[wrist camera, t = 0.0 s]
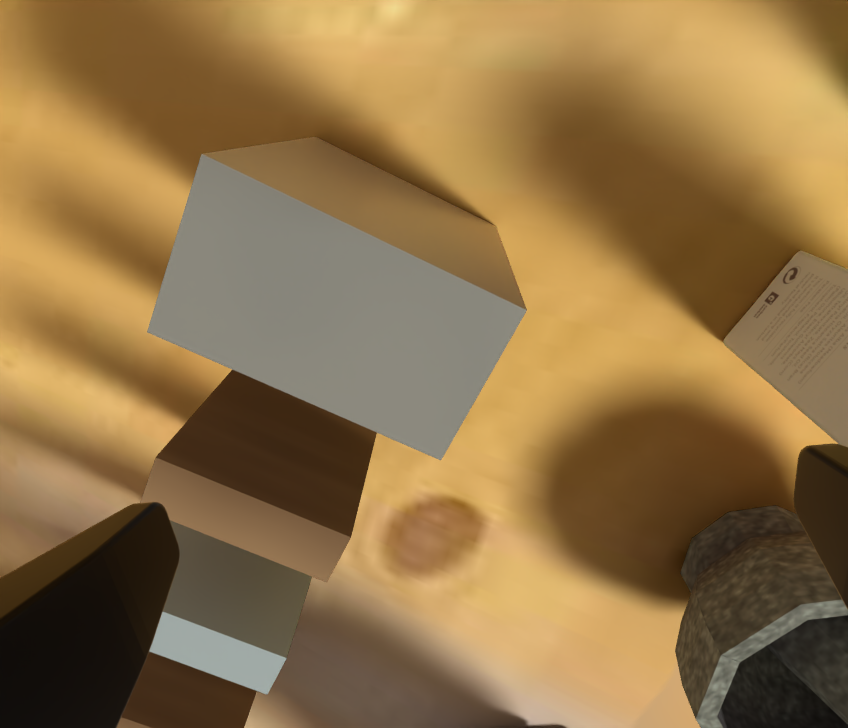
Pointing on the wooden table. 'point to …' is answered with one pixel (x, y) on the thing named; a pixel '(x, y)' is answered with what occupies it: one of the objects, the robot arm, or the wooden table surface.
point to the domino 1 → (266, 475)
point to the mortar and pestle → (762, 627)
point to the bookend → (340, 288)
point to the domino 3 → (184, 698)
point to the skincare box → (802, 340)
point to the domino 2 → (229, 611)
